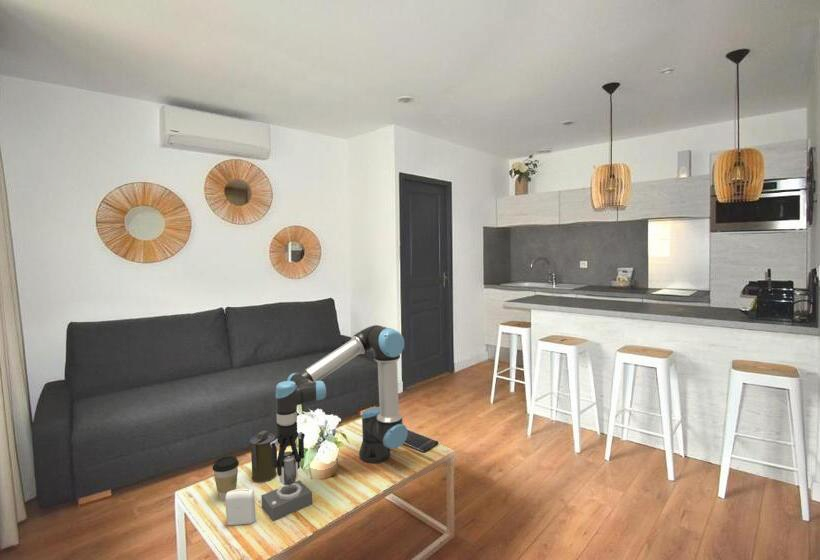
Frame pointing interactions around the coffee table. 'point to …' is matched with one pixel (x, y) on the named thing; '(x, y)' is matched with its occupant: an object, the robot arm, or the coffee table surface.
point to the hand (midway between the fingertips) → (288, 479)
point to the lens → (289, 468)
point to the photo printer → (240, 507)
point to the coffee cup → (225, 475)
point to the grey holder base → (286, 500)
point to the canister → (262, 457)
